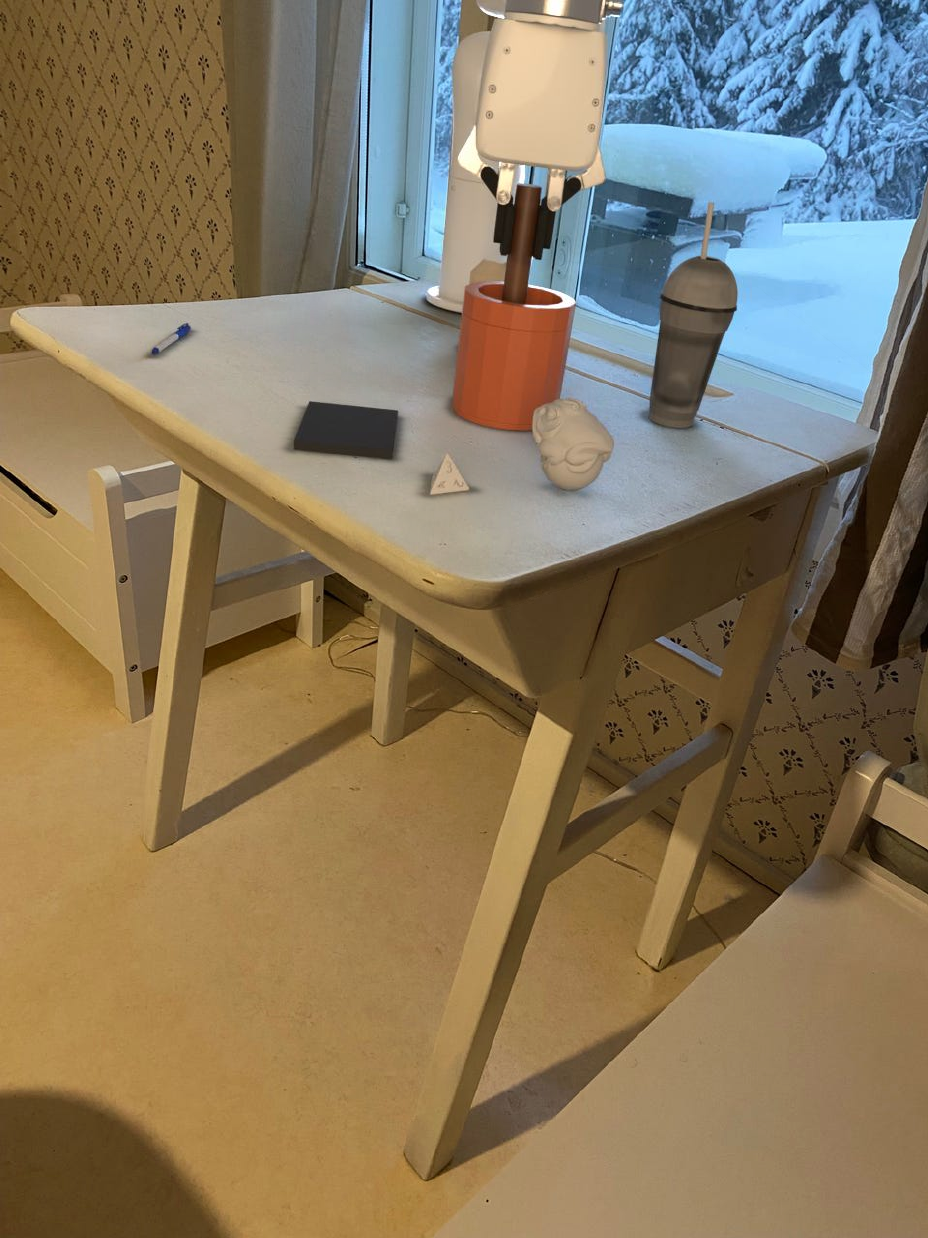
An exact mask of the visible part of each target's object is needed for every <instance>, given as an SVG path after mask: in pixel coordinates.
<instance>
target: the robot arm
mask: <svg viewBox="0 0 928 1238" xmlns="http://www.w3.org/2000/svg"><path fill="white" fill-rule="evenodd" d="M475 2H476V5H477V6H478V8H479V9H480V10H481V11H483V12H484V13H485V14H487V15H489V16H493V17H496V18H494V20H493V23H492V26H491V29H490V30H486V31H478V32H473V33H471V34H469V35H467V36H465V37H464V38H463V39H462V40H461V41H460V42H459V44H457V47H456V49H455V51H454V55H453V59H452V69H451V86H452V88H451V89H452V138H451V139H452V140H451V157H450V167H449V177H448V187H447V198H446V200H447V201H446V206H445V207H446V209H445V220H444V227H443V239H442V249H441V260H440V271H439V281H438V285H436V286H433V287H430V288H428V289H427V291H426V301H428V303H430V304H431V305H433V306H435V307H438V308H441V309H443V310H446V311H451V312H455V313H461V314H462V309H463V300H464V290H465V286H466V285H469V280H470V272H471V271H472V270H473V269H474V268H475V267H476V266H477V265H478V264H479V263H480V262H481V261H482V260H483V259H486V260H488V261H495V262H497V263H501V264H503V263H505V262H507V255H509V253H510V245H511V238H512V230H513V222H514V215H515V207H514V201H515V193H516V186H517V184H518V183H525V172H526V168H525V166H526V167H532V168H533V167H535V168H542V169H547V174H546V183H545V189H544V191H545V192H544V197H543V198H541V201H540V208H539V214H538V221H537V228H536V235H535V242H534V249H533V257H532V259H533V258H534V259H535V260H537V261H542V259H543V253H544V249H545V250H551V246H552V240H553V234H554V228H555V222H556V221H555V220H556V214H557V211H559V210H560V209H561V207H562V206H563V205H564V204H565V203H566V202H568V201H570V199H571V198H573V197H574V196H575V195H576V194H578V193H579V192H581V191H583V190H587V189H590V188H593V187H596V186H600V185H603V184H604V182H605V181H606V179H607V175H606V170H605V166H604V161H603V157H602V152H601V148H600V137H601V131H602V121H603V113H604V103H605V93H606V92H605V91H606V81H607V66H608V65H607V64H608V34H607V33H606V32H605V27H606V20H607V18H611V16H612V17H621V13H622V9H623V4H624V0H475ZM566 171H569V172H579V171H582V172H579V173H577V174H573V175H569V176H567V178H566V173H567V172H566Z"/></svg>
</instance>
